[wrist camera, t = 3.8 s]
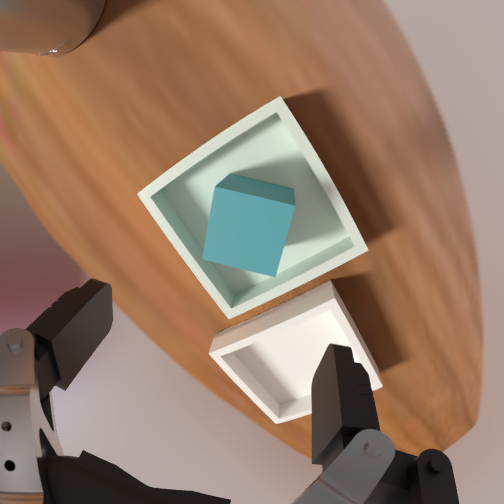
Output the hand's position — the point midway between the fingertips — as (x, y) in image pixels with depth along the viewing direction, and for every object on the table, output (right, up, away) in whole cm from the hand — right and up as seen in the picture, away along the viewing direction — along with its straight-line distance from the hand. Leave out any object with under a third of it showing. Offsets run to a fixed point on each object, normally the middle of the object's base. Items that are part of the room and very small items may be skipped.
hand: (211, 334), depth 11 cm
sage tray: (+2, +6, +14) cm, 16 cm away
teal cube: (+2, +6, +14) cm, 15 cm away
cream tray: (+6, -7, +20) cm, 22 cm away
